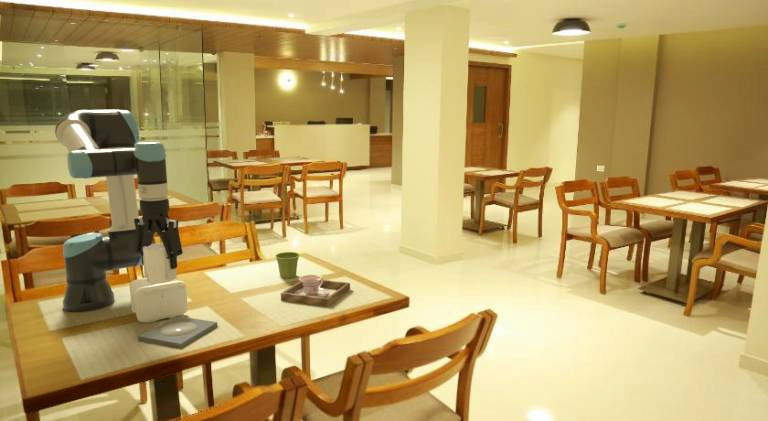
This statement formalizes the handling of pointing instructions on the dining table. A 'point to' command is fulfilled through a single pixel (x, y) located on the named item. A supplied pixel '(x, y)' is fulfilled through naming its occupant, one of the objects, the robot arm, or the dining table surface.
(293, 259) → the plant pot
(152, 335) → the slate mat
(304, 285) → the teacup
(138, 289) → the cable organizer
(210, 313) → the dining table surface
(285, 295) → the teacup tray rim
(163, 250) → the white cup
